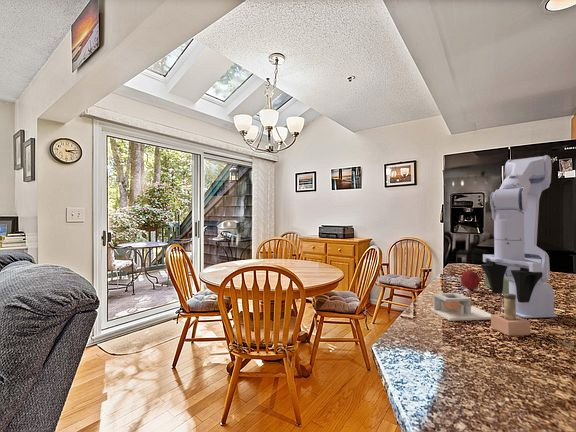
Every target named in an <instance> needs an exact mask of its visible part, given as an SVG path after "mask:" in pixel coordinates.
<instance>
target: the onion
mask: <svg viewBox="0 0 576 432" xmlns="http://www.w3.org/2000/svg"><path fill="white" fill-rule="evenodd" d="M460 281H461V284H462V285H463V287H464V288H466V289H467V290H468V291H473V290H474V289H476V288H477V287H479V285H480V282H481V279H480V277H479V275H478V274H477V273H476V272H475V271H473V270H472V268H470V267H469V268H468V269H467V271H464V272H463V274H462V275H461V276H460Z"/></svg>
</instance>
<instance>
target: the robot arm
mask: <svg viewBox="0 0 576 432" xmlns="http://www.w3.org/2000/svg"><path fill="white" fill-rule="evenodd" d="M504 175H505V178H504V180H503V181H502V183H501V185H500V187H499V189H495V191H492V192H491V193H490V196H489V197H490V199H489V204H490V210H491V218H492V220H493V237H494V239H493V240H494V241H493V243H494V244H493V247H494V248H493V249H494V253H493V254H489V253H488V254H485V253H483V254H482V262H483V263H482V264H481V265H480V267H481V269H482V271H483V272H484V275H485V274H486V276H487V278H488V281H489V284H490V287H491V289H490V290H491V293H492V294H495V295H496V294H500V293H502V291H503V280H504V277H507V280H509V294H514V295H516V316H518V317H520V318H523V319H533V318H534V319H537V318H538V319H539V318H557V317H558V315H557V314H555V292H554V289H553V287H552V286H551V284H550V283H548V281H549V280H550V272H551V270H550V268H551V267H550V257H549V255H548V253H547V252H546V250H543V249H542V248H540V247H539V246H537V242H538V227H539V226H538V224H539V212H540V211H539V209H540V208H539V206H540V198H541V195H542V193H543V191H545V190H546V189H548V188H550V184H551V182H552V159H551V156H550V155H548V154H545V155H543V156H534V157H533V156H532V157H527V158H518V159H517V158H516V159H508V160H507V161H506V162H505V165H504ZM500 308H501V309H500V310H503V311H504V306H503V307H502V306H501V307H500Z"/></svg>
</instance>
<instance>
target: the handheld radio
mask: <svg viewBox="0 0 576 432" xmlns="http://www.w3.org/2000/svg"><path fill="white" fill-rule="evenodd" d="M484 285H485V287H486V286H487V287H486V288H488V287H489V288H488V289H490V288H491V287H490V284H489V281H488V278H487V276H486V274H485V273H484ZM504 293H509V280H507V277H504V280H503V291H502V293H501V294H500V295H502V294H503V295H502V296H504Z"/></svg>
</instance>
